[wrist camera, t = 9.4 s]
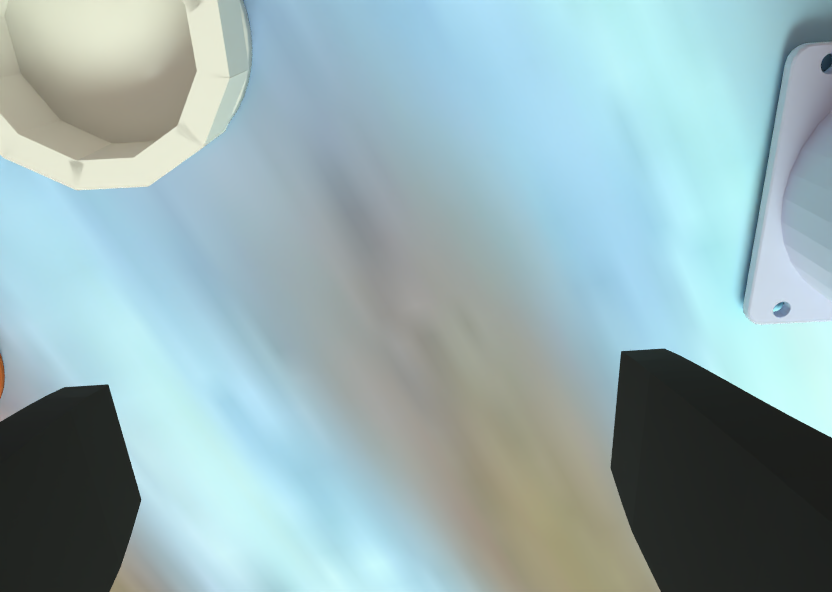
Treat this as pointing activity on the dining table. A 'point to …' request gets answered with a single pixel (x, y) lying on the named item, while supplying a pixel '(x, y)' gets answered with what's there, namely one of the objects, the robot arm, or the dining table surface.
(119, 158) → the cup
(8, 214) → the dining table surface
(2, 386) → the coffee cup
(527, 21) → the dining table surface
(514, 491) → the dining table surface
